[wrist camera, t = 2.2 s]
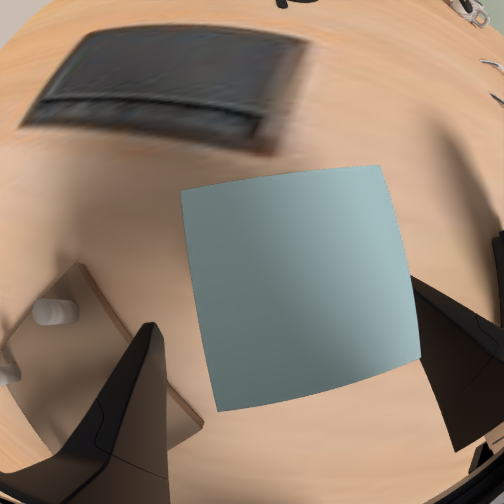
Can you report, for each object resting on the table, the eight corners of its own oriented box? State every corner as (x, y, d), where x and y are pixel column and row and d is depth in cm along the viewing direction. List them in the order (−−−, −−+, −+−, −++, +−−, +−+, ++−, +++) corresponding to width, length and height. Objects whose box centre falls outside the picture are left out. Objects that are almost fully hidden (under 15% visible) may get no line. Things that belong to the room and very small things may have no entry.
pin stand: (204, 422, 16) (193, 454, 12) (92, 485, 14) (69, 510, 10) (84, 264, 18) (46, 254, 13) (1, 358, 16) (-33, 363, 11)
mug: (444, 3, 30) (455, -15, 23) (458, 7, 30) (467, -8, 24) (475, 31, 28) (487, 13, 22) (486, 34, 29) (498, 19, 22)
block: (302, 322, 18) (421, 357, 5) (235, 334, 18) (217, 411, 5) (290, 256, 18) (379, 165, 6) (223, 267, 18) (179, 190, 5)
